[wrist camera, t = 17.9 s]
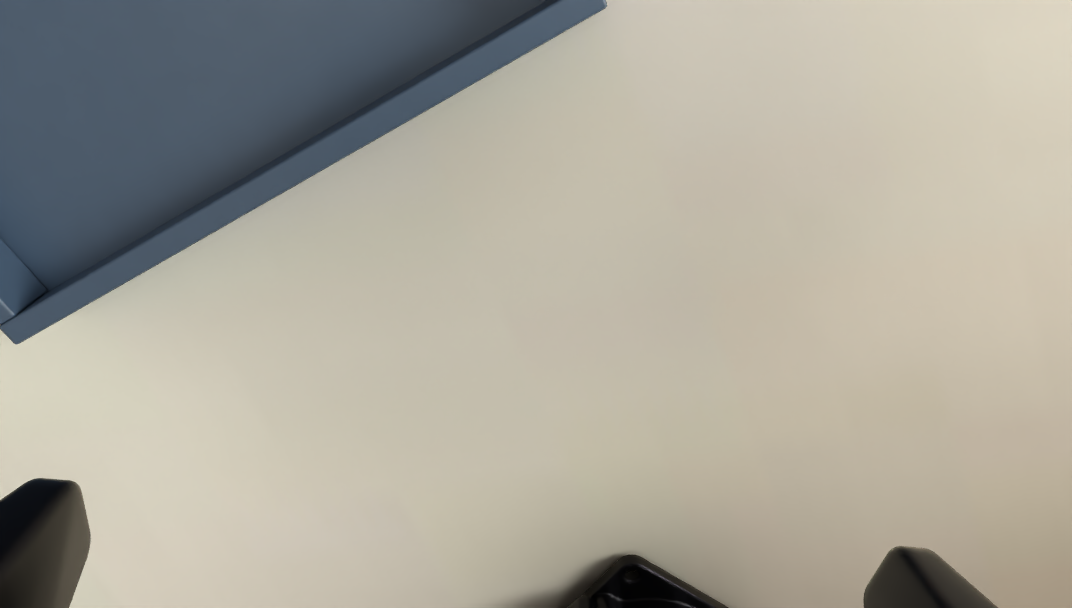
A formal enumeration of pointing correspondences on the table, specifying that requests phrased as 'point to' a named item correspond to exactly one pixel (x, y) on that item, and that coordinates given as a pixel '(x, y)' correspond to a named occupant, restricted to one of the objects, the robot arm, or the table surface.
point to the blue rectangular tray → (206, 117)
